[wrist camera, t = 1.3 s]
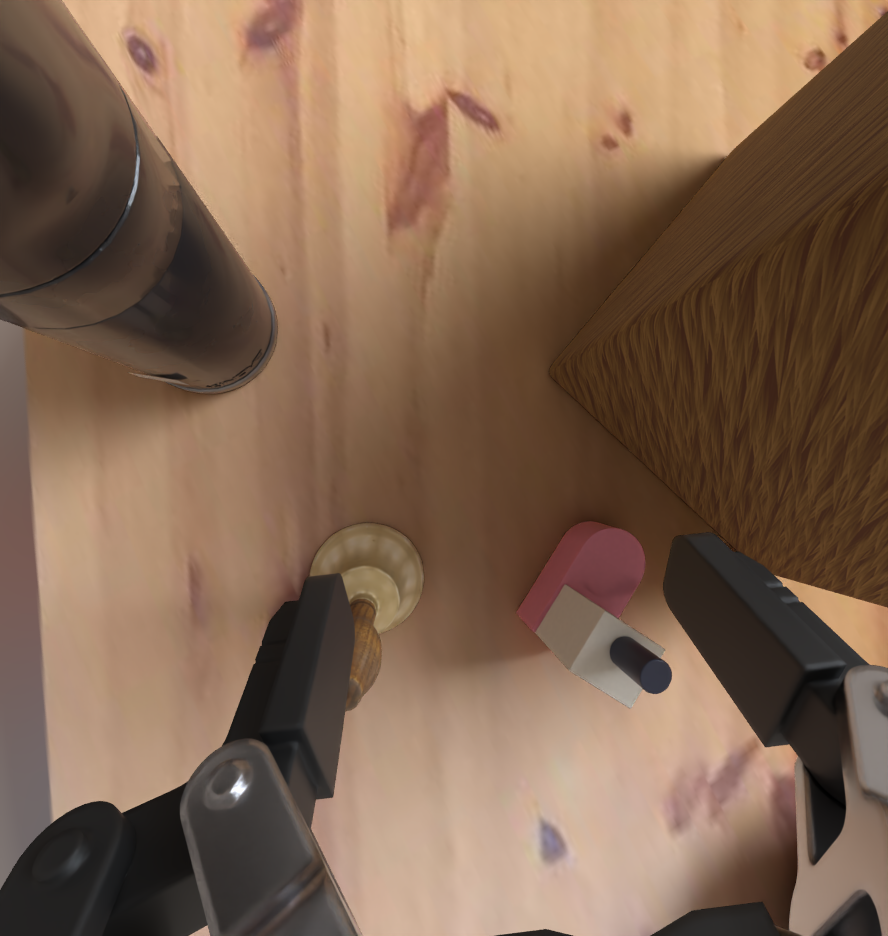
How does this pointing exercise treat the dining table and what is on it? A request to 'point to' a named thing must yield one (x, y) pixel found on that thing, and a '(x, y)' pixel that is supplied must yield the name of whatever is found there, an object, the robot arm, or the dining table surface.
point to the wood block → (768, 338)
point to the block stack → (596, 612)
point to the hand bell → (372, 590)
